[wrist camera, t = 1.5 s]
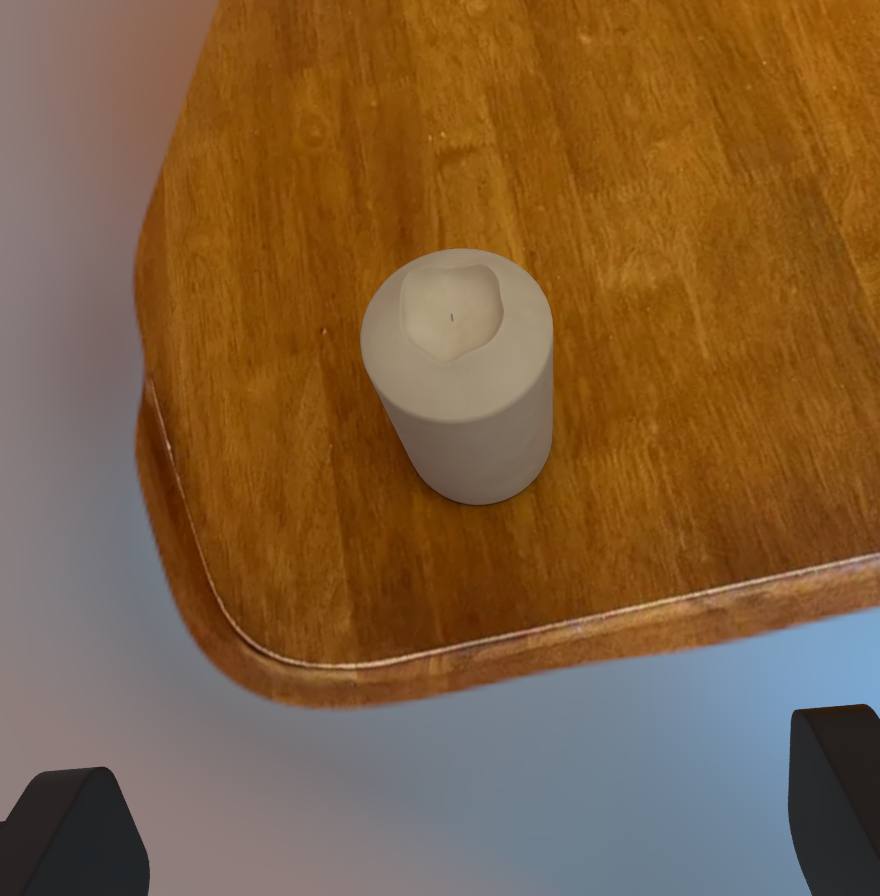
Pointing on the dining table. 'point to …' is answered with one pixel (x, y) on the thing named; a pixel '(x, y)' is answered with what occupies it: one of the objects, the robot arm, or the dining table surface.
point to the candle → (465, 371)
